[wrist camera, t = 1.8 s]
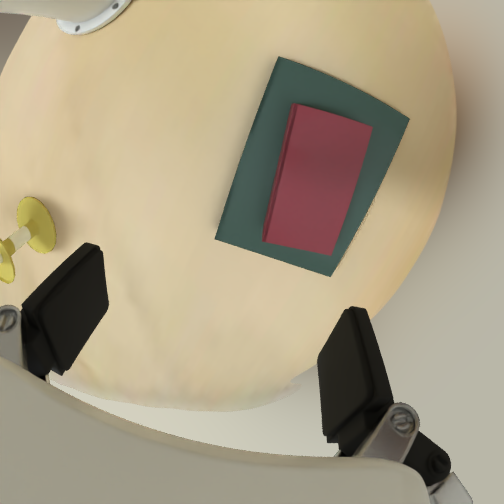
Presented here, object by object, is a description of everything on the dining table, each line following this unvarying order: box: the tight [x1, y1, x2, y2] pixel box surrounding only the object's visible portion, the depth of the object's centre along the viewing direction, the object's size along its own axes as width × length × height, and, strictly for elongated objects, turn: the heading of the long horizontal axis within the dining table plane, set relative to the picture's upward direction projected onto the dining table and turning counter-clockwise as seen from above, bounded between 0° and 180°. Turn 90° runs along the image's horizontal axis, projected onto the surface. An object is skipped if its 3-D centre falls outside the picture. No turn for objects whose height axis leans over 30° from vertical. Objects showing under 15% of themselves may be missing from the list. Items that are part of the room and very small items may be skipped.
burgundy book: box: [262, 103, 373, 256], centre depth 24 cm, size 13×7×3 cm, turn 169°
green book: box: [215, 57, 410, 277], centre depth 26 cm, size 20×14×2 cm
